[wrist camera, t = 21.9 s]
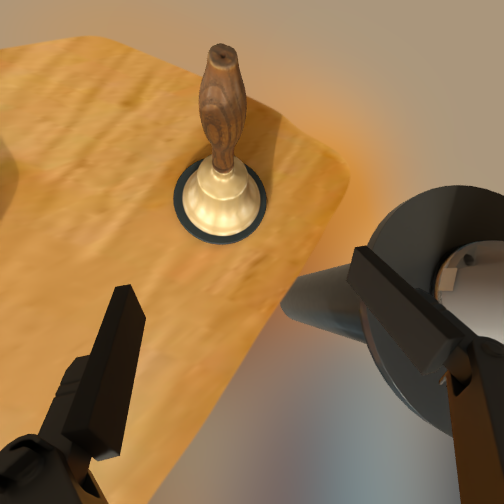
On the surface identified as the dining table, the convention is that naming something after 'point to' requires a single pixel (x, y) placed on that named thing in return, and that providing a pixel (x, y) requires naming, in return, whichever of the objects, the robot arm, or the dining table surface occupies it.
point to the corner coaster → (206, 236)
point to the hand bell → (222, 152)
